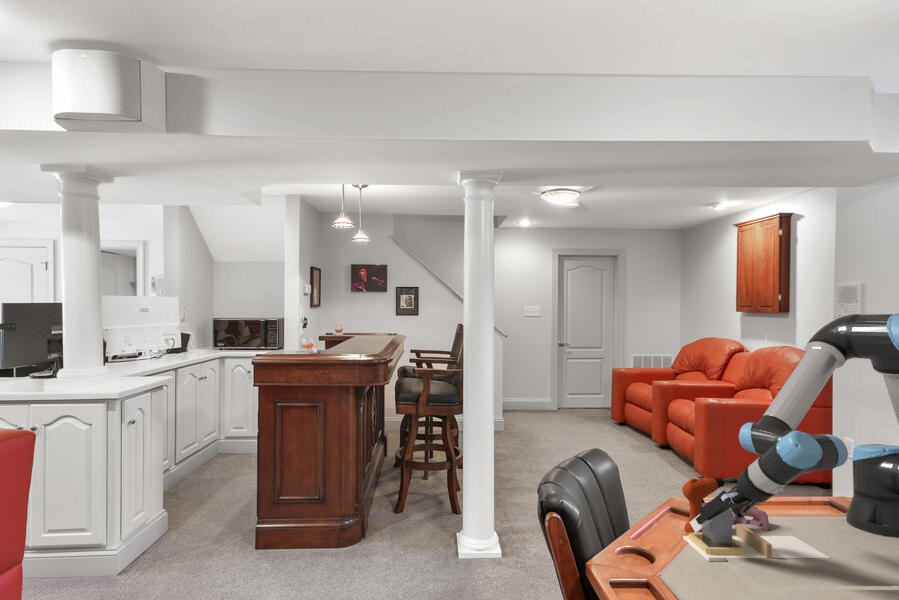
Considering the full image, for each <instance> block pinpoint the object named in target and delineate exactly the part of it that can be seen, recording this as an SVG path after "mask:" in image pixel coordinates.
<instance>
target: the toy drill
mask: <svg viewBox="0 0 899 600" xmlns="http://www.w3.org/2000/svg"><path fill="white" fill-rule="evenodd" d="M733 481H737V477H736V476H732V477H729V478H728V477H727V478H721V477H717V478H713V477H712V478H710V477H706V476H705V477H703V478H690V479H688V481H687V482H686V483H684V484H683V486H682V488H681V489H682V490H681V491H682V495H683V496H684V497H685V498H686V500H688V503H689V517H688V522H686V523H685V524H684V532H686V533H688V534H689V533H695V531H694V529H693V528H692V526H691V524H690V522H691V521H692V520H693V519H694V518H695V517H697V516H698V515H699V514H700V513H699V511H698V510H699V509H700V508H701V507H702V503H706V502H705V500H704V499H705V498H707V497H708V496H710V495H712V494H713V493H714V492H716V491H717V490H718V489H720V488H722V487H724V486H725V484H727V483H731V482H733ZM698 533H702V529H701V530H700V531H699V532H698Z"/></svg>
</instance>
